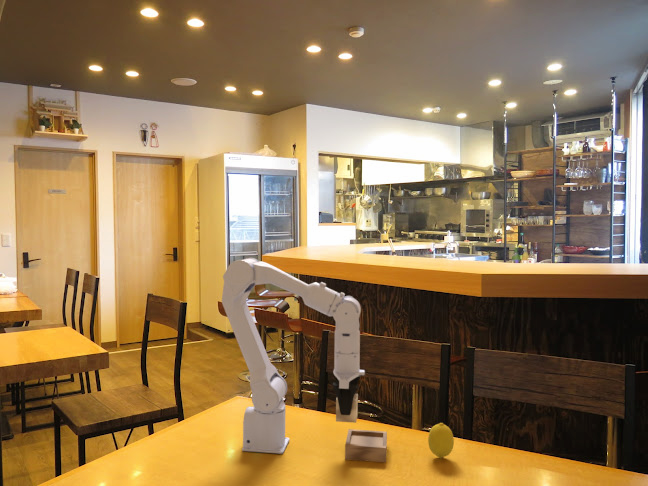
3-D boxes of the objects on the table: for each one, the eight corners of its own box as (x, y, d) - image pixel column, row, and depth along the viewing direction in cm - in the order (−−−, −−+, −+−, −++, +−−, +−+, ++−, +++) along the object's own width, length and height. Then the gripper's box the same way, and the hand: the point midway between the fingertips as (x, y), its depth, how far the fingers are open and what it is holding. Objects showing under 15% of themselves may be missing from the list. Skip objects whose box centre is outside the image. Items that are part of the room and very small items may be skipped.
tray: (344, 459, 115) (345, 445, 115) (348, 442, 124) (348, 429, 124) (386, 462, 114) (386, 447, 114) (386, 445, 123) (386, 431, 123)
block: (335, 421, 117) (336, 399, 117) (338, 414, 121) (338, 392, 121) (356, 422, 116) (356, 400, 116) (357, 415, 121) (357, 393, 121)
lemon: (453, 465, 113) (454, 428, 113) (427, 462, 114) (428, 426, 114) (452, 454, 119) (453, 419, 118) (427, 451, 120) (428, 417, 119)
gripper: (362, 360, 111) (362, 423, 111) (366, 344, 125) (366, 400, 125) (329, 358, 112) (329, 421, 112) (337, 343, 126) (336, 399, 126)
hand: (346, 410), depth 119 cm, fingers closed on block, 4 cm apart
